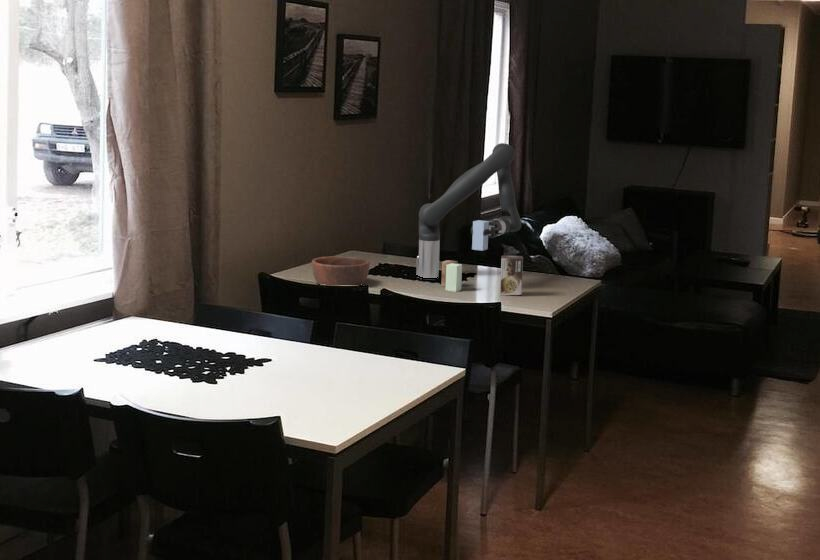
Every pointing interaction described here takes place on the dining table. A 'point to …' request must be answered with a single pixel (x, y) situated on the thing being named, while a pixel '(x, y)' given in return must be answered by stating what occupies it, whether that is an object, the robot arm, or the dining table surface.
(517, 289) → the coffee box
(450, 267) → the sage block
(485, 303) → the dining table surface
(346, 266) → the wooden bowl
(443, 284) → the walnut block
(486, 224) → the slate block
